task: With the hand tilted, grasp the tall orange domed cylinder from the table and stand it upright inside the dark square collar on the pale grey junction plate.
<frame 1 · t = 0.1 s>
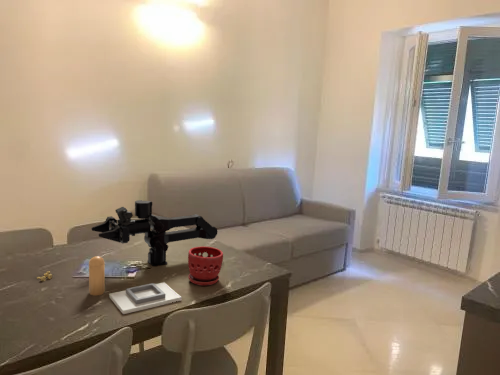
hand: (95, 232, 155), 17 cm above the table, tool horizontal, fingers open, 9 cm apart
yellow knobbed cluster: (45, 280, 151), on the table
plant pot: (204, 281, 156), on the table
junction plate: (145, 298, 139), on the table
orange domed cylinder: (97, 292, 142), on the table
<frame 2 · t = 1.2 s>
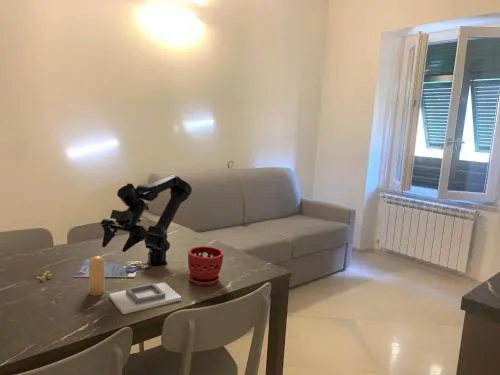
hand: (112, 249, 146), 13 cm above the table, tool tilted 45°, fingers open, 9 cm apart
nothing on the table moved.
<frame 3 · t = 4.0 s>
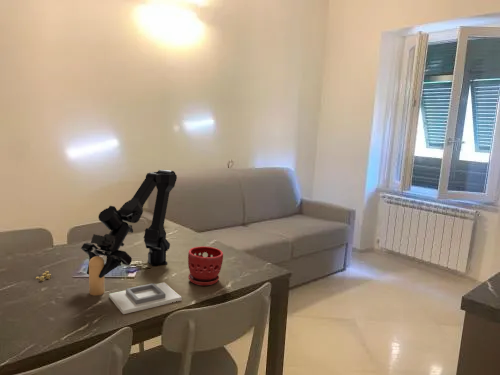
hand: (93, 275, 139), 7 cm above the table, tool tilted 45°, fingers closed on orange domed cylinder, 5 cm apart
orange domed cylinder: (96, 292, 142), on the table, touching gripper
everything else where it was.
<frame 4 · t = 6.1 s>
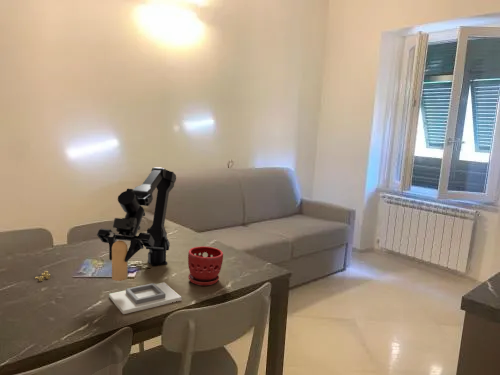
hand: (117, 260, 136), 13 cm above the table, tool tilted 45°, fingers closed on orange domed cylinder, 5 cm apart
orange domed cylinder: (119, 277, 138), point 7 cm above the table, touching gripper
everything else where it was.
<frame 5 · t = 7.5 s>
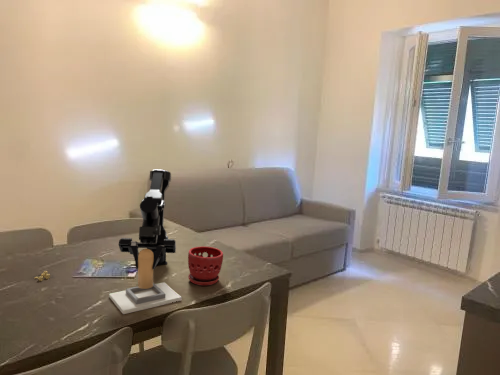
hand: (145, 268, 136), 11 cm above the table, tool tilted 45°, fingers closed on orange domed cylinder, 5 cm apart
orange domed cylinder: (145, 285, 138), point 5 cm above the table, touching gripper
everything else where it was.
when the fingers open (9 cm above the table, at t = 8.7 s): orange domed cylinder drops 1 cm, resting on junction plate.
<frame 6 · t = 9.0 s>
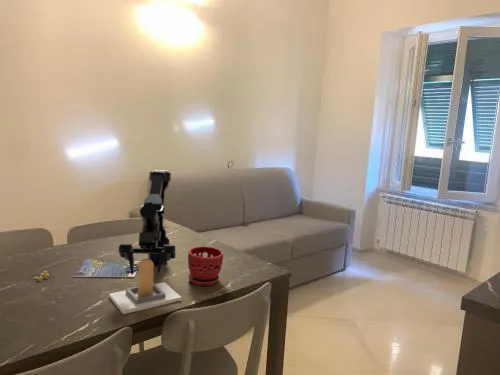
hand: (145, 274, 136), 9 cm above the table, tool tilted 45°, fingers open, 8 cm apart
orange domed cylinder: (145, 294, 139), point 1 cm above the table, touching junction plate
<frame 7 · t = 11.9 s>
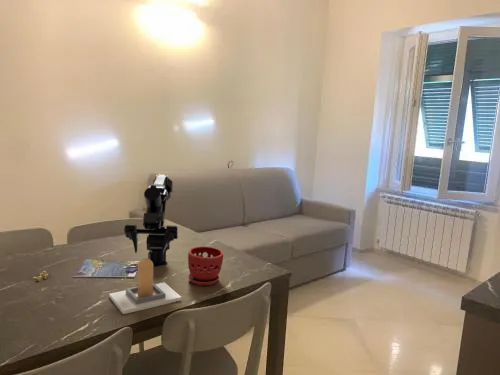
hand: (149, 252, 144), 14 cm above the table, tool tilted 45°, fingers open, 9 cm apart
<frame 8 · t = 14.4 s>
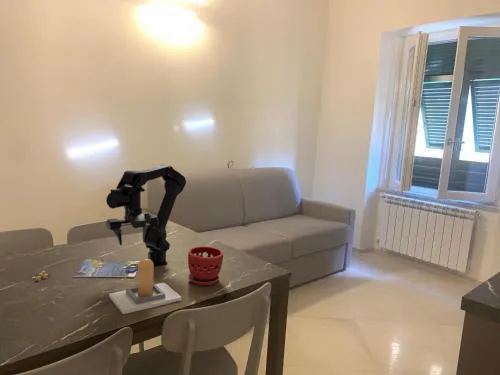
hand: (132, 243, 158), 12 cm above the table, tool pointing down, fingers open, 9 cm apart
at the end: orange domed cylinder 0.0 cm off-centre on the junction plate, point 1.2 cm above the junction plate's base; orange domed cylinder tilted 0°; the gripper is holding nothing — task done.
